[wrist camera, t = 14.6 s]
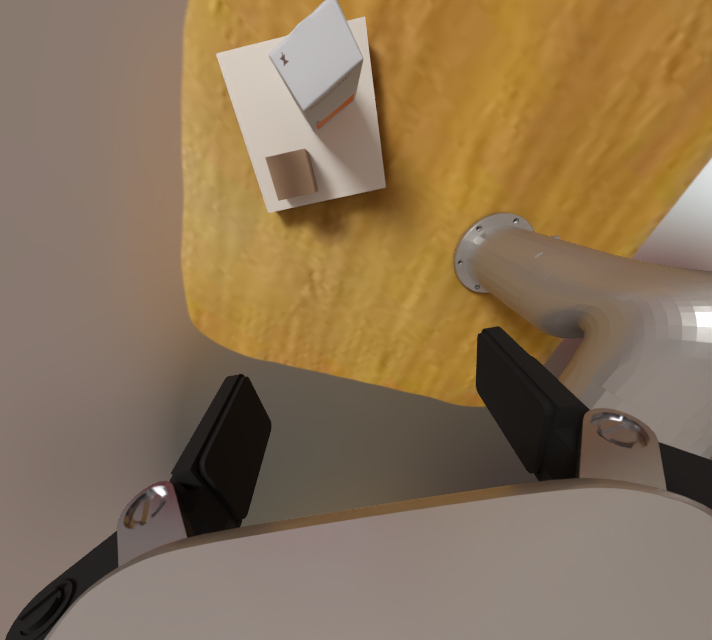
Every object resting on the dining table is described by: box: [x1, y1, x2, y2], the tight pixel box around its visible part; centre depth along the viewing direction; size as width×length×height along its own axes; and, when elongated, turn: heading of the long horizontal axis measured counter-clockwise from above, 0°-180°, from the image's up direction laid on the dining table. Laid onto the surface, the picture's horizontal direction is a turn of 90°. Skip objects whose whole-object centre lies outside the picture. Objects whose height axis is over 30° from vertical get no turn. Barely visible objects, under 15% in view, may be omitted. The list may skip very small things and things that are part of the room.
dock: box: [216, 17, 386, 213], centre depth 33 cm, size 16×16×3 cm
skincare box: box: [269, 0, 364, 133], centre depth 25 cm, size 6×4×12 cm
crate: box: [265, 149, 318, 201], centre depth 32 cm, size 4×4×4 cm
